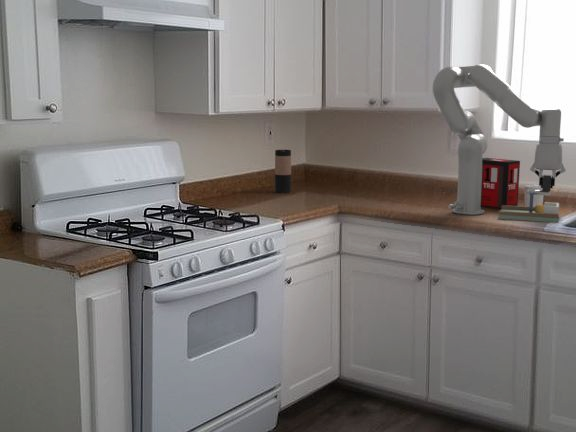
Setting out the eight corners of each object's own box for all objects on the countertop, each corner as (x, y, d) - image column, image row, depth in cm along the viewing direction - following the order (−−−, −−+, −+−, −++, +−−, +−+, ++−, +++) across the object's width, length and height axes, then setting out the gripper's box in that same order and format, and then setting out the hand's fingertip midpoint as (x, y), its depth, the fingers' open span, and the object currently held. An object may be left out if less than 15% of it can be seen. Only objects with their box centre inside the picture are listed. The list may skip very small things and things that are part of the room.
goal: (558, 212, 315) (559, 202, 314) (558, 217, 305) (559, 207, 304) (543, 212, 317) (544, 202, 316) (543, 216, 307) (543, 206, 306)
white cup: (527, 207, 337) (529, 184, 336) (546, 209, 333) (547, 185, 331) (520, 209, 331) (521, 186, 330) (538, 211, 327) (540, 187, 325)
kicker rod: (549, 212, 314) (551, 174, 311) (548, 214, 308) (551, 176, 306) (525, 210, 317) (527, 173, 314) (525, 213, 311) (527, 175, 308)
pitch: (558, 215, 318) (558, 208, 317) (558, 222, 303) (558, 214, 302) (501, 212, 325) (501, 205, 324) (498, 218, 310) (499, 211, 309)
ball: (534, 207, 310) (542, 213, 309) (540, 200, 311) (548, 207, 310) (530, 211, 313) (538, 217, 313) (536, 204, 315) (544, 210, 314)
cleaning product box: (472, 205, 343) (474, 159, 339) (483, 203, 349) (486, 157, 345) (505, 210, 331) (508, 162, 327) (517, 207, 337) (520, 160, 333)
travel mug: (272, 191, 381) (273, 149, 377) (288, 190, 383) (288, 149, 380) (277, 193, 374) (277, 151, 370) (293, 193, 376) (293, 150, 373)
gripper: (571, 140, 308) (568, 187, 311) (527, 139, 313) (525, 185, 316) (571, 141, 301) (568, 190, 304) (526, 140, 306) (524, 188, 309)
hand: (546, 187), depth 310 cm, fingers closed on kicker rod, 3 cm apart
